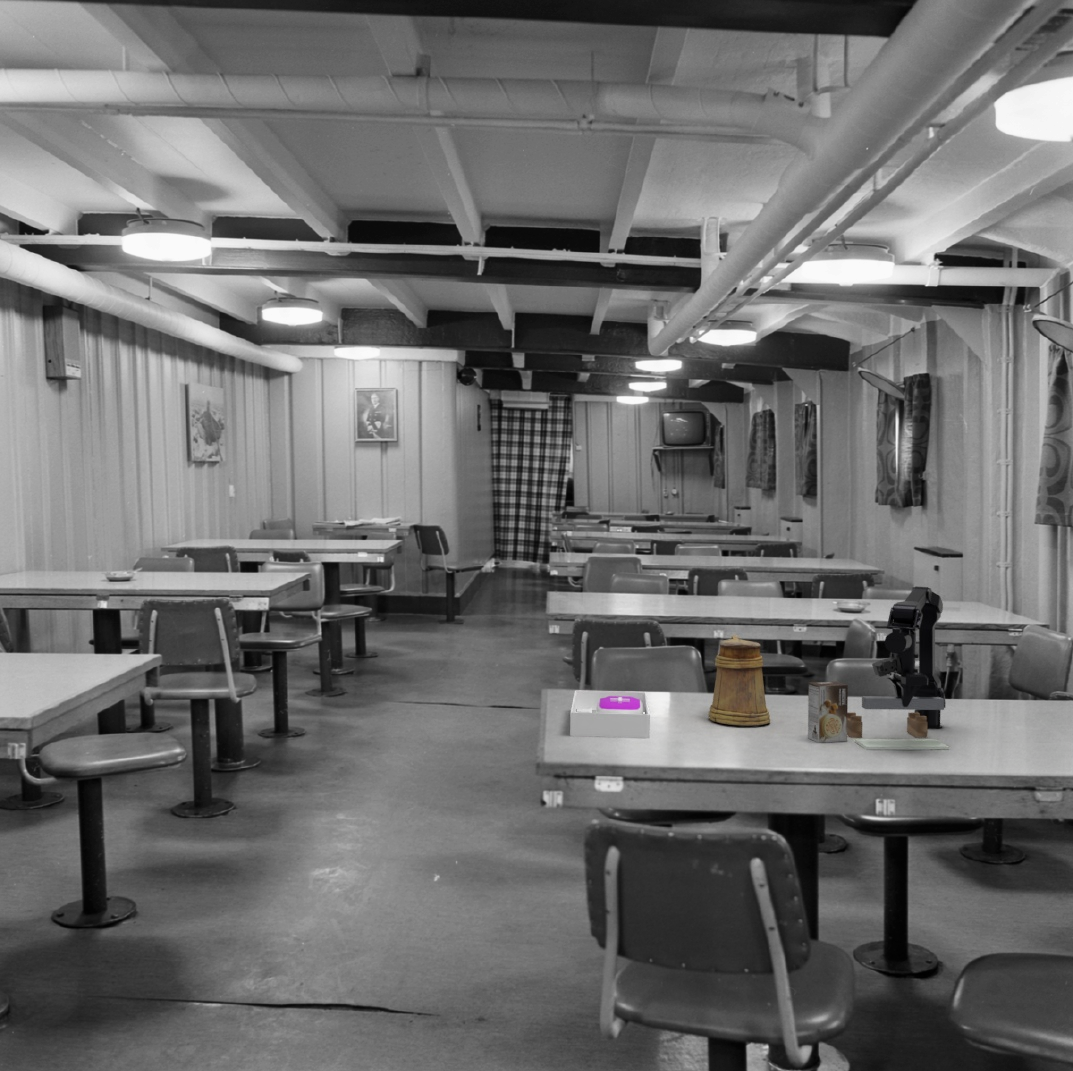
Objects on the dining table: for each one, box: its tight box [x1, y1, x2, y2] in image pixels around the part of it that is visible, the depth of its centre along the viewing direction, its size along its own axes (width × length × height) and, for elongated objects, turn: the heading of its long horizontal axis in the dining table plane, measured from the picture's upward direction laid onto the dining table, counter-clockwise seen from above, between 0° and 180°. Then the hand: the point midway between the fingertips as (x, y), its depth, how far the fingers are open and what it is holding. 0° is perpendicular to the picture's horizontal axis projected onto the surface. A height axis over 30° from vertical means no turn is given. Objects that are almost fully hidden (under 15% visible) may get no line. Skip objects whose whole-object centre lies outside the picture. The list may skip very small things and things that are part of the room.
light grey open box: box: [569, 689, 651, 739], centre depth 313 cm, size 22×35×7 cm, turn 176°
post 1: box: [847, 711, 863, 739], centre depth 302 cm, size 3×7×6 cm, turn 3°
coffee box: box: [807, 681, 849, 744], centre depth 295 cm, size 9×6×16 cm
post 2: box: [906, 712, 928, 739], centre depth 303 cm, size 3×7×6 cm, turn 3°
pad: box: [854, 738, 950, 751], centre depth 290 cm, size 23×9×1 cm, turn 93°
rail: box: [861, 695, 945, 711], centre depth 289 cm, size 22×3×3 cm, turn 93°
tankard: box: [708, 634, 771, 726], centre depth 321 cm, size 18×24×25 cm
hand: (903, 705), depth 290 cm, fingers closed on rail, 3 cm apart
